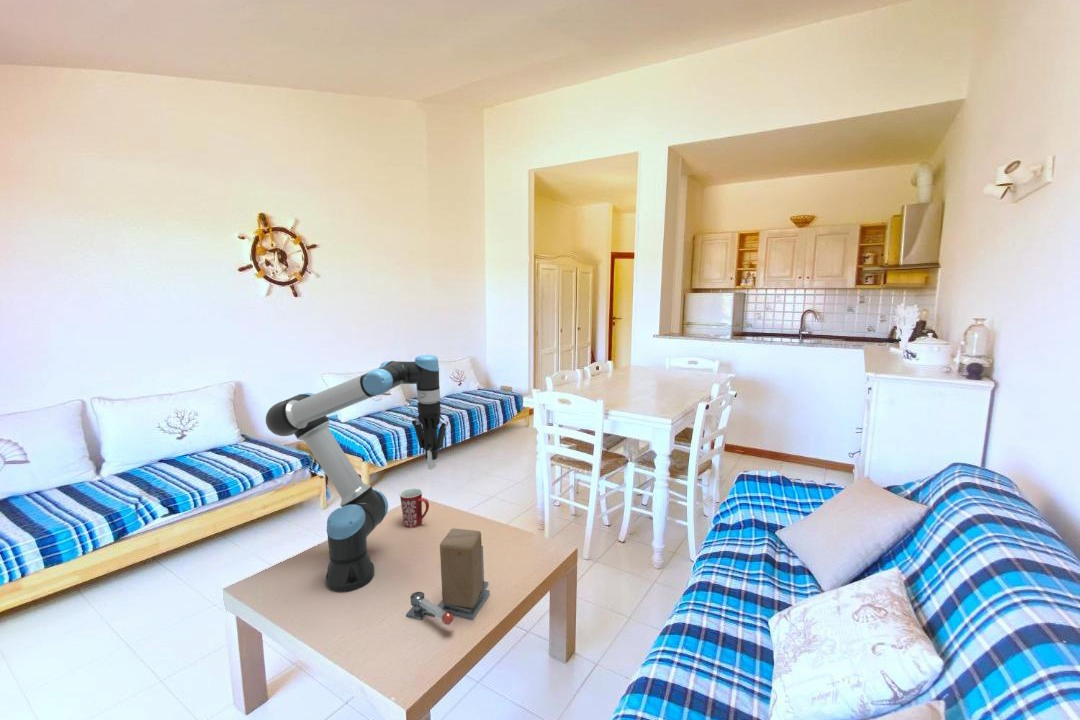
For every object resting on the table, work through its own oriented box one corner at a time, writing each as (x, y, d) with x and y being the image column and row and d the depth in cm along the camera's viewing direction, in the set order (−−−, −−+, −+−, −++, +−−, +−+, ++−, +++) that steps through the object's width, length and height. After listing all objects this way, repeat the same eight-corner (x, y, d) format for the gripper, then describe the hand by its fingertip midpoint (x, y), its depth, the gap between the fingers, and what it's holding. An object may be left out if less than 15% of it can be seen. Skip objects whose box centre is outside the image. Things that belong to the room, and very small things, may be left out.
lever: (446, 629, 131) (446, 619, 131) (408, 604, 142) (407, 594, 141) (457, 621, 134) (456, 611, 134) (419, 597, 145) (418, 588, 144)
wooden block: (473, 609, 141) (470, 547, 138) (441, 605, 143) (438, 543, 140) (483, 588, 150) (482, 529, 147) (453, 585, 152) (451, 526, 149)
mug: (396, 526, 194) (394, 494, 192) (411, 516, 202) (409, 486, 200) (421, 532, 188) (419, 500, 186) (435, 522, 196) (434, 491, 194)
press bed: (406, 616, 141) (403, 573, 139) (442, 575, 161) (440, 536, 159) (465, 630, 135) (464, 585, 133) (495, 586, 155) (494, 546, 153)
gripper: (405, 402, 159) (409, 469, 163) (440, 405, 155) (443, 474, 159) (418, 397, 166) (421, 462, 170) (451, 399, 162) (454, 466, 166)
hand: (432, 467), depth 164 cm, fingers closed
